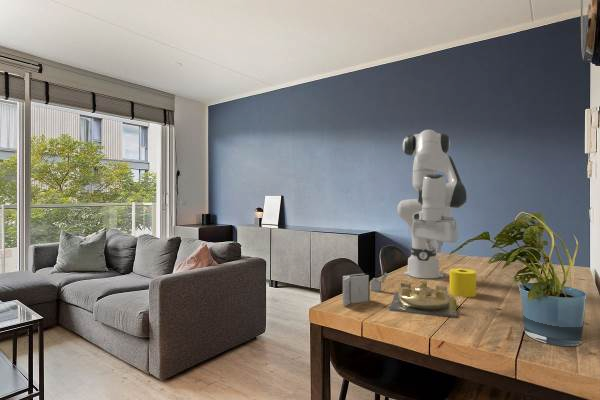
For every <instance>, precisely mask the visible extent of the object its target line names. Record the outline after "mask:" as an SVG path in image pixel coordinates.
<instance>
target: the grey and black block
mask: <svg viewBox="0 0 600 400" xmlns="http://www.w3.org/2000/svg"><path fill="white" fill-rule="evenodd" d="M370 291H371V278H370V274H368V273H358V274H357V273H356V274H348V275H343V276H342V307H344V308H345V307H347V306H348V305H350V304H355V303H356V304H357V303H363V302H369V301H370V298H371V297H370V295H371V294H370V293H371V292H370Z"/></svg>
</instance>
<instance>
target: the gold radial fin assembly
mask: <svg viewBox="0 0 600 400" xmlns="http://www.w3.org/2000/svg"><path fill="white" fill-rule="evenodd" d="M397 292H398V301H399V302H400V303H401V304H403V305H406V306H409V307H413V308H418V309H427V310H437V309H444V308H447V307H448V306H449V297H450V295H449V291H448V286H447V285H443V284H442V285H440V284H439V285H435V288H432V287H428V281H422V280H421V281H420V284H419V286H415V287H412V283H411V282H406V281H403V282H400V287H399V288H398V291H397Z"/></svg>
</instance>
